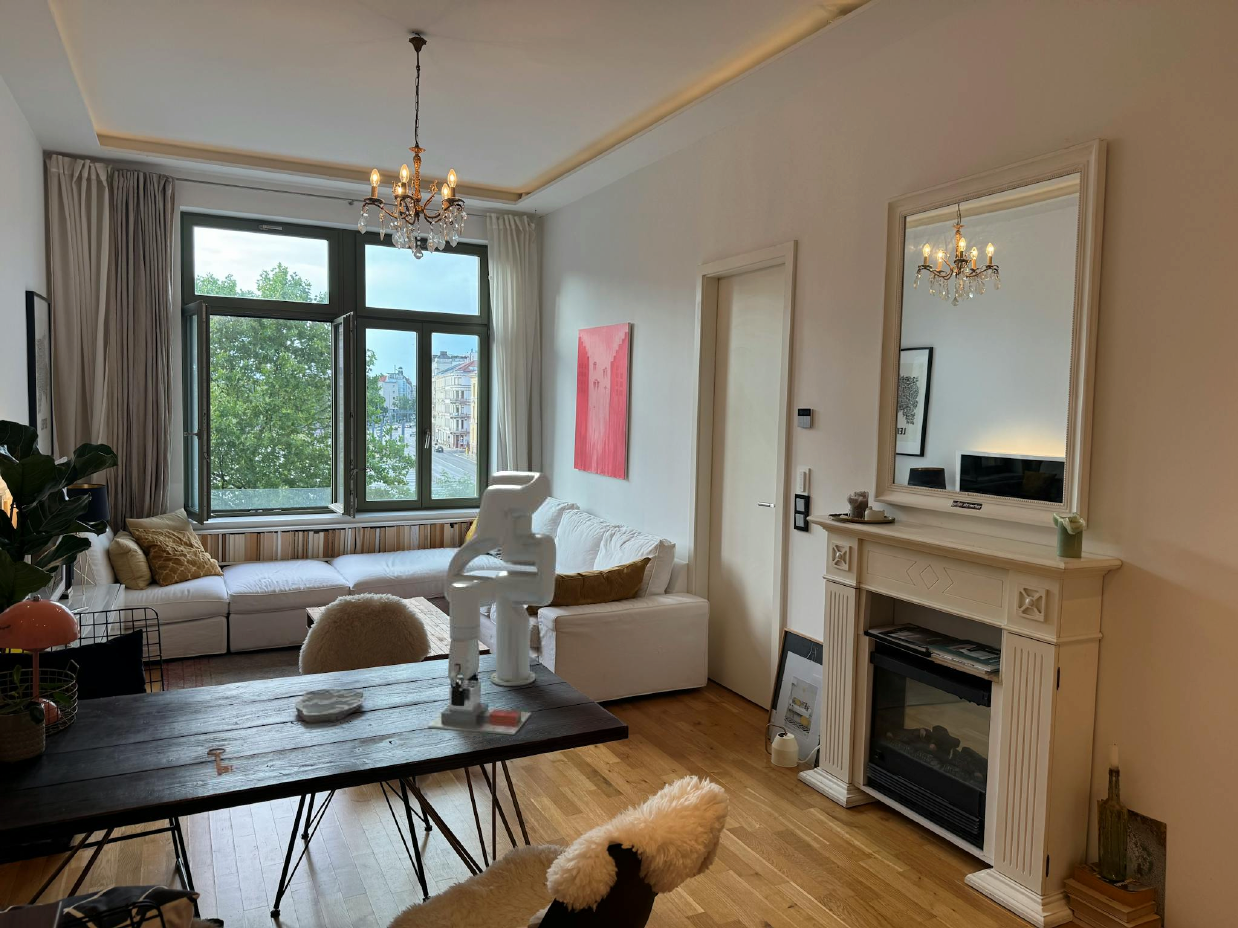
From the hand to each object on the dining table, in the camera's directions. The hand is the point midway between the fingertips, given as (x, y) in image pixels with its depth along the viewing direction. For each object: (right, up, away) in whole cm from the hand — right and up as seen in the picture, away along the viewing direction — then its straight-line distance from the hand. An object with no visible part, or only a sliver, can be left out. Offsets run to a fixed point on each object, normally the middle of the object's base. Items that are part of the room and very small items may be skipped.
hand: (465, 698), depth 218 cm
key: (-49, -7, -26) cm, 56 cm away
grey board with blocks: (+4, -5, 0) cm, 7 cm away
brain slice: (-36, -5, +6) cm, 36 cm away
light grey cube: (0, -2, 0) cm, 2 cm away
